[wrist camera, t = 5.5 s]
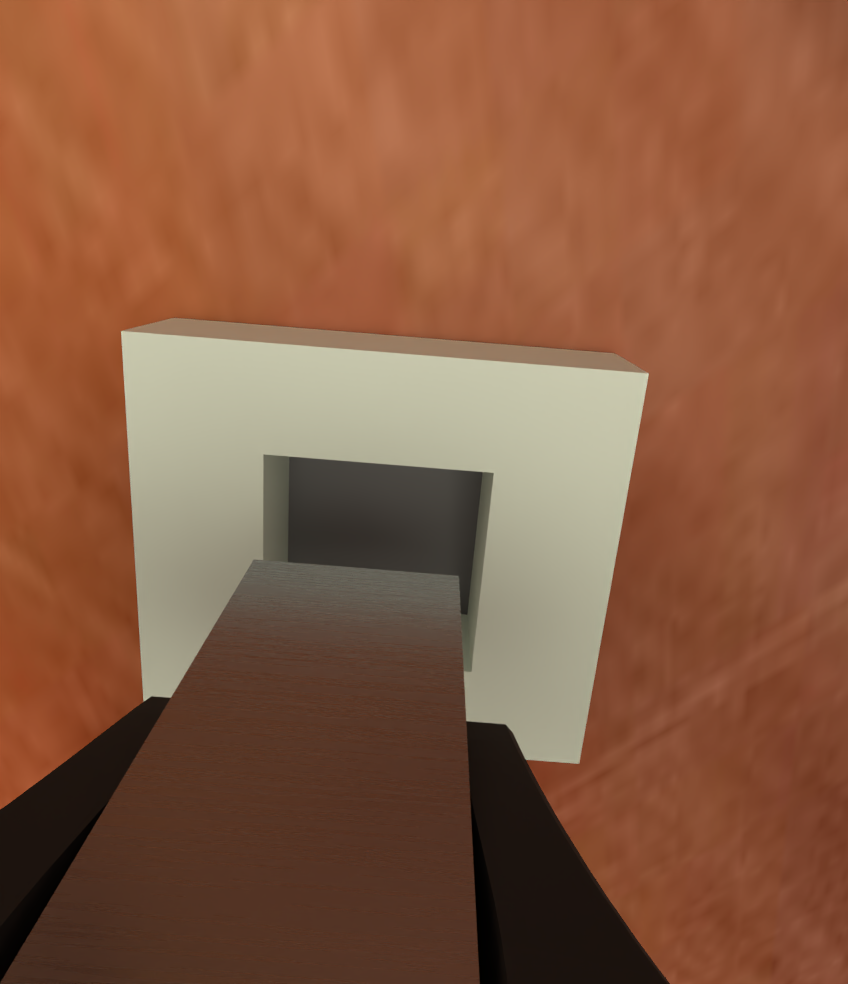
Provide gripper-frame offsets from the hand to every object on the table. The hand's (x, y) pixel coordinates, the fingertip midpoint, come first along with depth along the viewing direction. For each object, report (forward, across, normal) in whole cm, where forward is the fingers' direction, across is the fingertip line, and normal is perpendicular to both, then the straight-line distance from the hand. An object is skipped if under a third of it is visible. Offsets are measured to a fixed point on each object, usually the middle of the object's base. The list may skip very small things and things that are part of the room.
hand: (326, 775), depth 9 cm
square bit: (+3, 0, 0) cm, 3 cm away
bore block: (+9, 0, 0) cm, 9 cm away
